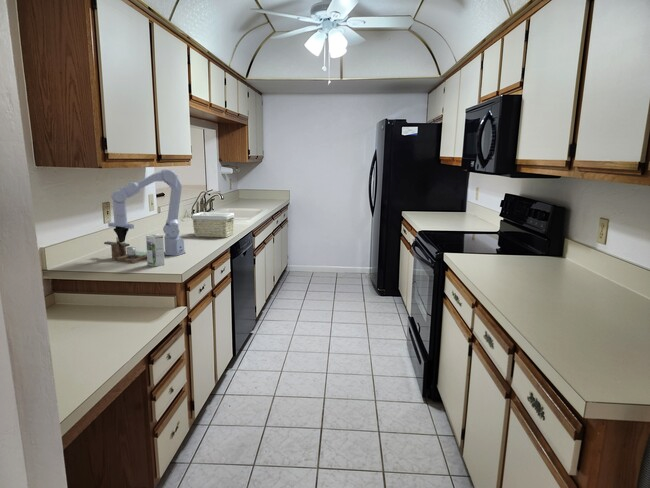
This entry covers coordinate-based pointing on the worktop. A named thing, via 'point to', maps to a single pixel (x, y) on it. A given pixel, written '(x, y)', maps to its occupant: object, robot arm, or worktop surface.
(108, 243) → the dark grey long bar
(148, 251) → the syrup box
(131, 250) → the steel peg
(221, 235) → the storage basket
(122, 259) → the walnut socket block
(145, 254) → the sage rubber pad
